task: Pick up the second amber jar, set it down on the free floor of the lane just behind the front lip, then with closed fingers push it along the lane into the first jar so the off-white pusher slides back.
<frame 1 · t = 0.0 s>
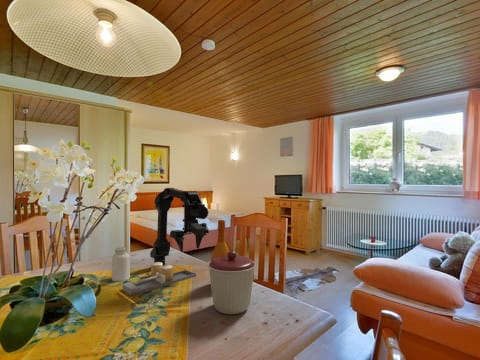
hand: (189, 250, 125), 15 cm above the table, fingers open, 9 cm apart
amber jar A: (167, 280, 123), point 1 cm above the table, touching lane, pusher
wine bottle: (221, 287, 118), on the table
canister: (231, 308, 98), on the table
pill bottle: (120, 279, 126), on the table
pusher: (150, 281, 117), point 3 cm above the table, slide at 14.7 cm, touching amber jar A
amber jar B: (157, 276, 130), on the table
lane: (161, 283, 121), on the table
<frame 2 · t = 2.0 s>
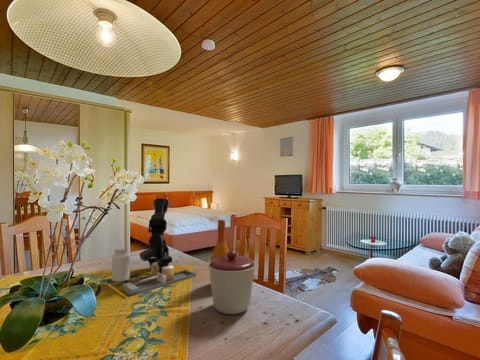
hand: (157, 274, 130), 1 cm above the table, fingers open, 8 cm apart
pusher: (151, 280, 117), point 3 cm above the table, slide at 14.3 cm, touching amber jar A
everything else where it was.
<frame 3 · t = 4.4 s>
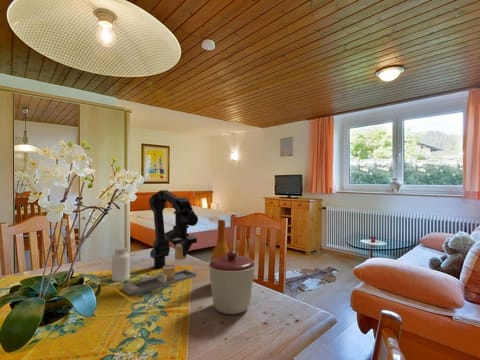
hand: (181, 255, 129), 11 cm above the table, fingers closed on amber jar B, 6 cm apart
pusher: (152, 280, 118), point 3 cm above the table, slide at 13.9 cm, touching amber jar A
amber jar B: (180, 258, 129), point 10 cm above the table, touching gripper
everything else where it was.
when the fingers open (3 cm above the table, at t = 6.2 s): amber jar B drops 2 cm, resting on lane.
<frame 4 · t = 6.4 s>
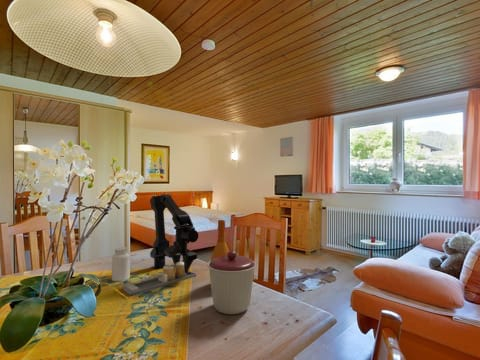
hand: (181, 271, 129), 3 cm above the table, fingers open, 8 cm apart
amber jar B: (181, 276, 128), point 1 cm above the table, touching lane
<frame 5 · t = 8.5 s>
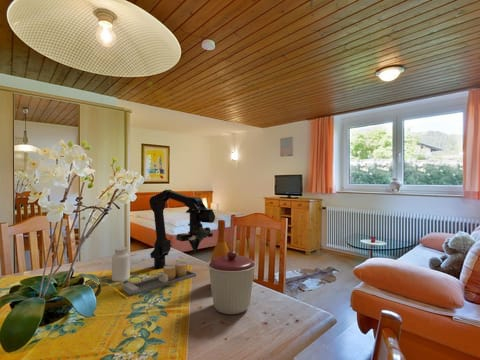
hand: (195, 252, 134), 11 cm above the table, fingers closed
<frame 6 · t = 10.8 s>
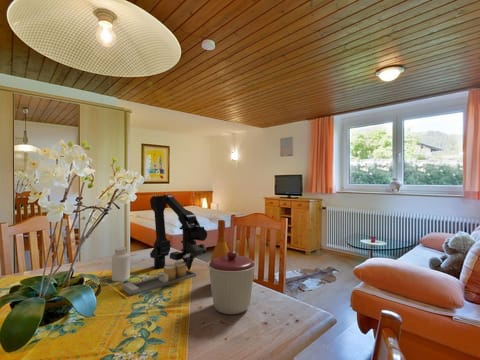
hand: (188, 269, 132), 3 cm above the table, fingers closed
amber jar B: (181, 276, 128), point 1 cm above the table, tilted 5°, touching gripper, lane
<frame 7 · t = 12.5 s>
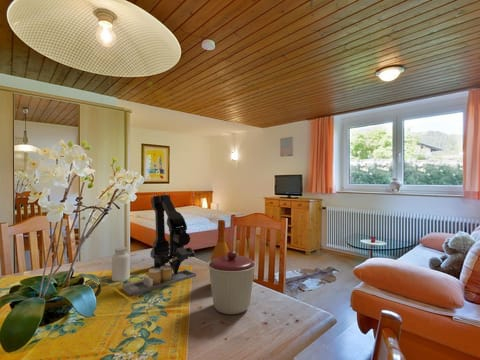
hand: (175, 274, 126), 3 cm above the table, fingers closed
amber jar A: (154, 284, 119), point 1 cm above the table, touching amber jar B, lane, pusher
pusher: (137, 284, 113), point 3 cm above the table, slide at 20.7 cm, touching amber jar A
amber jar B: (165, 281, 123), point 1 cm above the table, touching amber jar A, gripper
everything else where it was.
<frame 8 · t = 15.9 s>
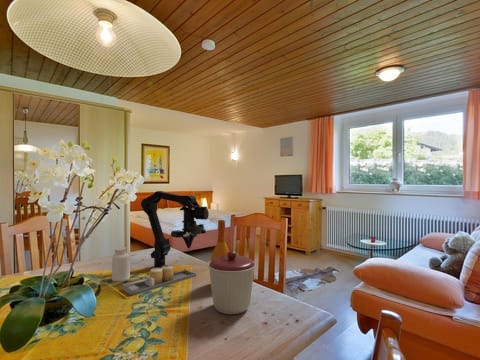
hand: (188, 248, 139), 12 cm above the table, fingers closed
pusher: (138, 284, 113), point 3 cm above the table, slide at 20.0 cm, touching amber jar A
amber jar B: (167, 280, 123), point 1 cm above the table, touching amber jar A, lane
everything else where it was.
at the end: amber jar B inside the target area on the lane (0.4 cm from its centre), point 0.6 cm above the lane's base; amber jar B tilted 0°; pusher slide at 20.0 cm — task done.
